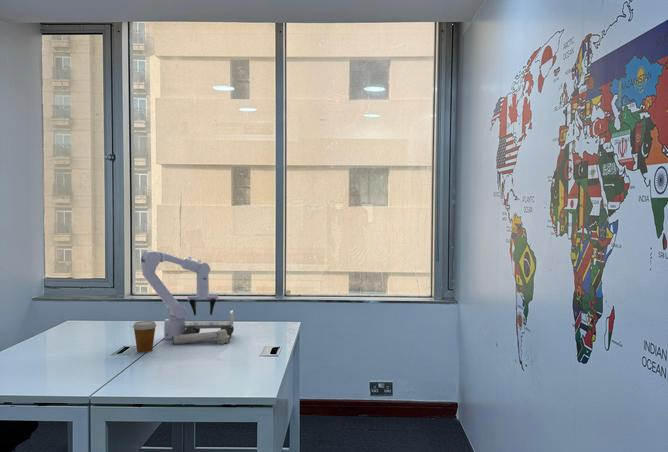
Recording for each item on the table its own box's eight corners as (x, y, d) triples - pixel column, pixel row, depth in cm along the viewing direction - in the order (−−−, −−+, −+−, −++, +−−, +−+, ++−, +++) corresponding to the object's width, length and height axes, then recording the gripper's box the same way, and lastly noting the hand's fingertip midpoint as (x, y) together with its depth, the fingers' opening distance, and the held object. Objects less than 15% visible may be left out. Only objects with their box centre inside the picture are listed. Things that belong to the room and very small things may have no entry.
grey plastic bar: (173, 334, 257) (228, 325, 260) (175, 349, 258) (230, 340, 261) (171, 337, 252) (227, 328, 255) (173, 351, 253) (229, 342, 255)
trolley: (182, 341, 259) (182, 314, 259) (187, 335, 272) (187, 309, 271) (231, 341, 261) (231, 313, 261) (233, 335, 274) (233, 309, 273)
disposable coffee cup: (149, 354, 237) (149, 325, 237) (128, 352, 239) (128, 324, 238) (160, 348, 246) (160, 321, 246) (140, 347, 248) (140, 320, 248)
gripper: (185, 288, 270) (186, 316, 270) (216, 287, 271) (217, 316, 271) (188, 286, 277) (189, 314, 277) (218, 285, 278) (219, 313, 279)
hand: (203, 314), depth 275 cm, fingers open, 7 cm apart
